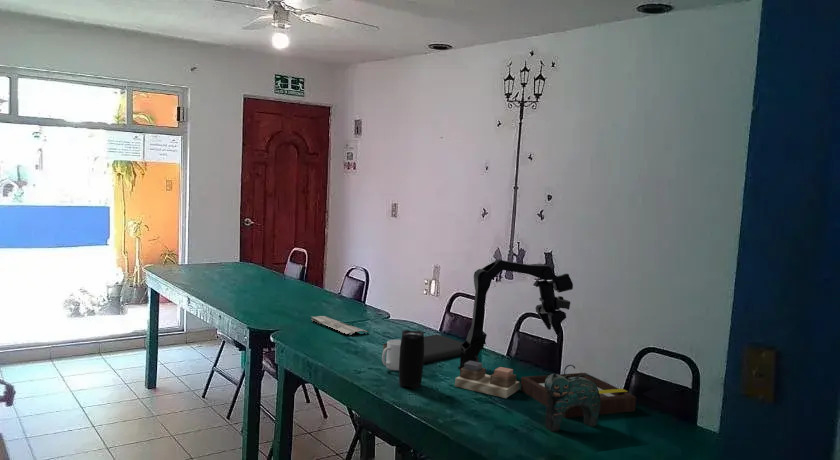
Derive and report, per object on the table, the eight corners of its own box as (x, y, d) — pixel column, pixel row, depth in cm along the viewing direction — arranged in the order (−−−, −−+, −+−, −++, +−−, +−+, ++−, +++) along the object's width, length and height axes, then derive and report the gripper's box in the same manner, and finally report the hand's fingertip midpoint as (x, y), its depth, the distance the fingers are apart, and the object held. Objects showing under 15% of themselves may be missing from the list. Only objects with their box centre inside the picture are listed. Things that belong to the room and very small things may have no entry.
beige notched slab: (368, 335, 305) (369, 327, 304) (347, 338, 296) (347, 330, 296) (326, 320, 331) (327, 313, 330) (306, 322, 322) (306, 315, 322)
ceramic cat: (548, 434, 194) (553, 368, 192) (536, 426, 200) (541, 362, 198) (602, 427, 202) (607, 364, 200) (588, 419, 208) (593, 358, 206)
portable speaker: (422, 382, 236) (425, 329, 235) (421, 390, 227) (424, 336, 225) (399, 380, 236) (402, 328, 235) (396, 388, 227) (400, 334, 226)
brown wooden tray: (637, 393, 219) (562, 399, 207) (636, 412, 219) (561, 419, 208) (586, 369, 245) (518, 373, 233) (585, 386, 245) (516, 391, 234)
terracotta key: (494, 378, 230) (494, 369, 230) (499, 374, 234) (500, 366, 234) (507, 380, 227) (507, 372, 227) (512, 377, 232) (513, 369, 232)
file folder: (436, 333, 299) (476, 345, 282) (435, 342, 299) (475, 355, 282) (382, 342, 276) (422, 357, 259) (381, 352, 276) (421, 367, 259)
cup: (411, 368, 253) (412, 343, 252) (389, 373, 244) (390, 347, 244) (396, 363, 259) (398, 338, 258) (374, 368, 250) (375, 342, 249)
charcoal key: (463, 371, 236) (464, 363, 236) (469, 368, 240) (470, 360, 240) (476, 374, 233) (476, 366, 233) (481, 371, 238) (482, 363, 237)
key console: (454, 386, 234) (455, 370, 233) (469, 378, 244) (470, 363, 244) (506, 398, 224) (507, 381, 224) (518, 389, 234) (520, 373, 234)
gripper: (575, 294, 252) (581, 333, 254) (557, 286, 271) (563, 322, 273) (548, 301, 251) (555, 339, 253) (532, 292, 269) (538, 328, 271)
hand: (553, 332), depth 262 cm, fingers open, 9 cm apart
